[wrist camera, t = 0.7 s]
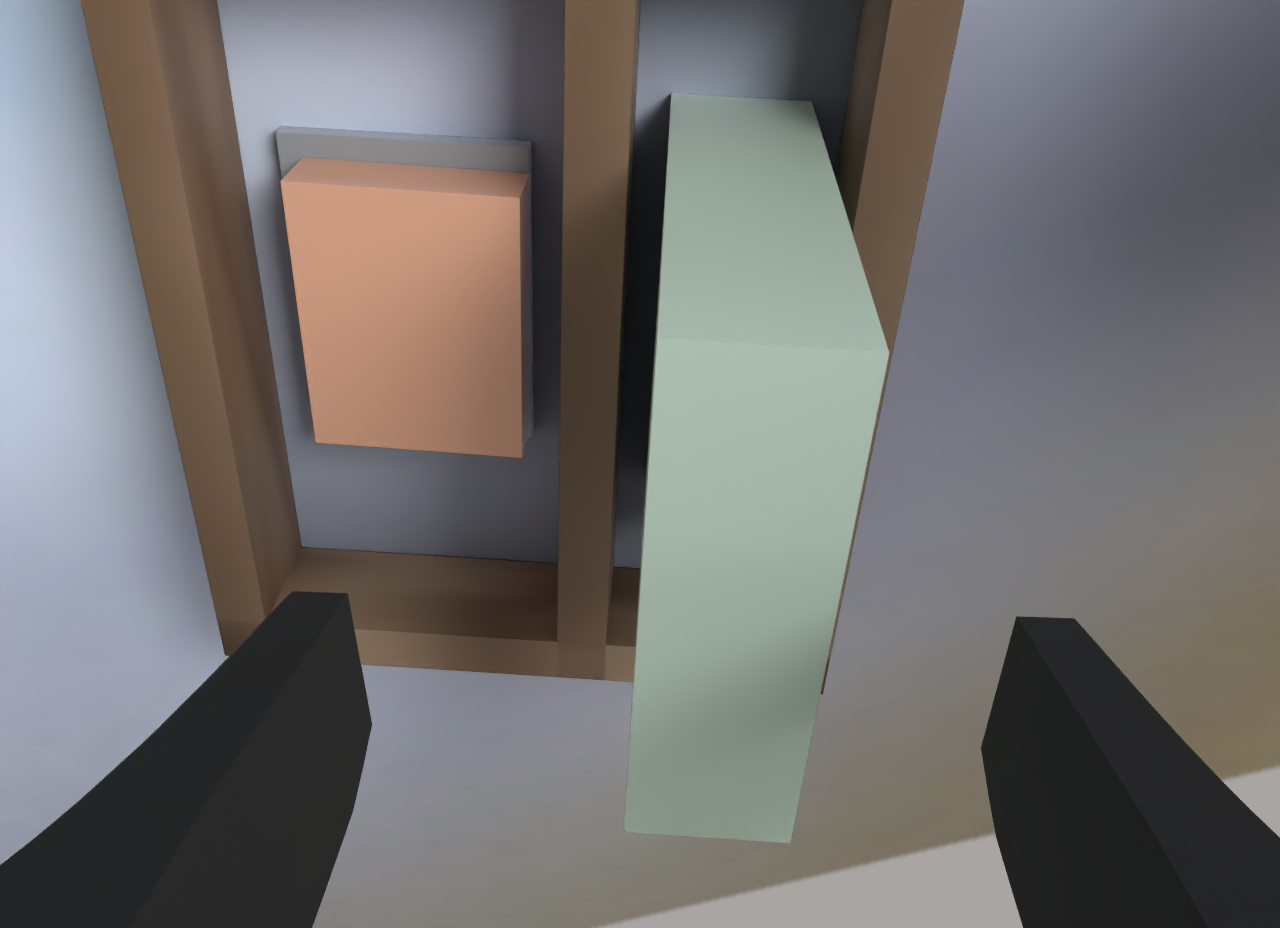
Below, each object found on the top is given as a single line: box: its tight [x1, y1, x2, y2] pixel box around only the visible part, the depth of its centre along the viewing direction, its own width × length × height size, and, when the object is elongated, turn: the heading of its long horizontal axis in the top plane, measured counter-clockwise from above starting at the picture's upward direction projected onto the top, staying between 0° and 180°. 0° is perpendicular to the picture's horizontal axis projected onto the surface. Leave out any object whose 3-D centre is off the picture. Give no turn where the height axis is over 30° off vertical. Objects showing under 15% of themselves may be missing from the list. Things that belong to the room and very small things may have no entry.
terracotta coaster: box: [280, 157, 531, 458], centre depth 20 cm, size 4×5×1 cm
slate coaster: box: [276, 126, 533, 440], centre depth 21 cm, size 4×6×1 cm
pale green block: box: [624, 93, 889, 843], centre depth 17 cm, size 2×8×9 cm, turn 177°
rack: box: [81, 0, 964, 694], centre depth 20 cm, size 13×15×2 cm
